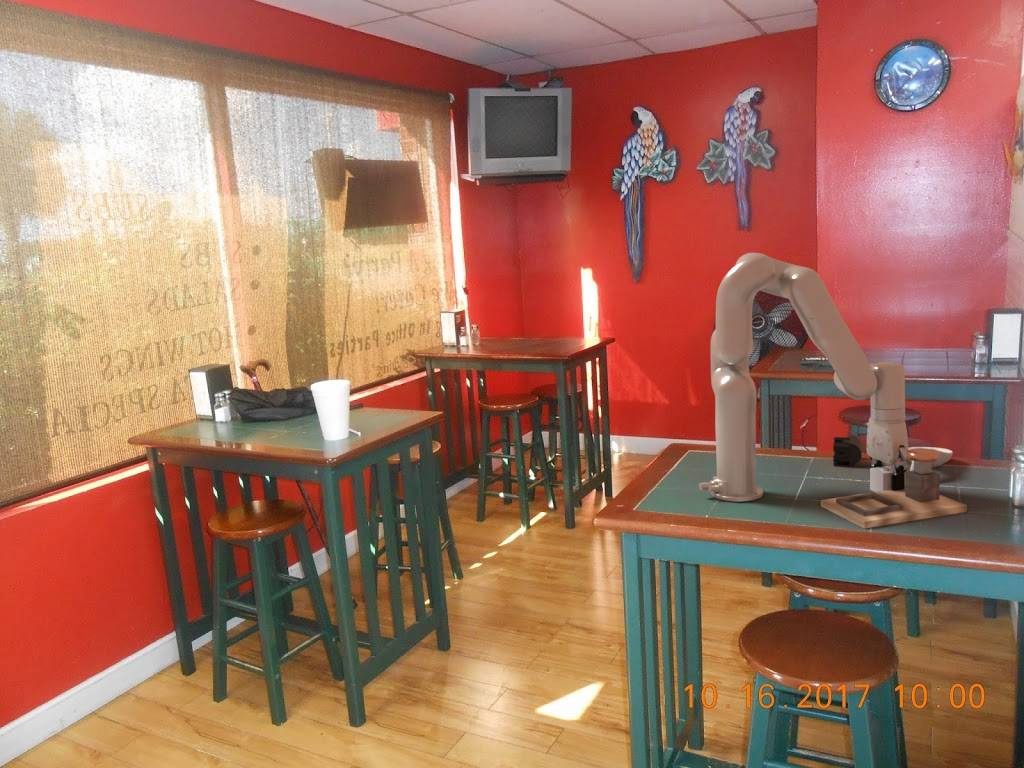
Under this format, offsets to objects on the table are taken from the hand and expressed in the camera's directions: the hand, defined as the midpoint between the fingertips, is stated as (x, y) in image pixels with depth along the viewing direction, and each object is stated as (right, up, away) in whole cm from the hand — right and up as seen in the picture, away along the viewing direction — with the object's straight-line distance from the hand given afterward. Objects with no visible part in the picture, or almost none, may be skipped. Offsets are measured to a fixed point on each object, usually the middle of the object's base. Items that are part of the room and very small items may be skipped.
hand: (888, 485), depth 198 cm
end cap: (+1, +3, +26) cm, 26 cm away
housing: (0, -2, +1) cm, 2 cm away
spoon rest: (+17, +2, +15) cm, 23 cm away
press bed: (-6, -4, -12) cm, 14 cm away
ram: (+3, +2, -11) cm, 11 cm away
